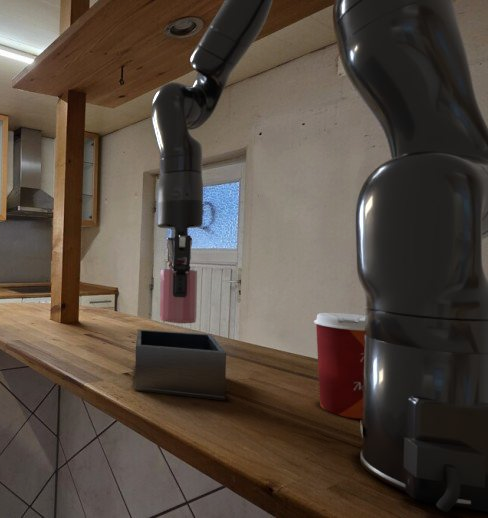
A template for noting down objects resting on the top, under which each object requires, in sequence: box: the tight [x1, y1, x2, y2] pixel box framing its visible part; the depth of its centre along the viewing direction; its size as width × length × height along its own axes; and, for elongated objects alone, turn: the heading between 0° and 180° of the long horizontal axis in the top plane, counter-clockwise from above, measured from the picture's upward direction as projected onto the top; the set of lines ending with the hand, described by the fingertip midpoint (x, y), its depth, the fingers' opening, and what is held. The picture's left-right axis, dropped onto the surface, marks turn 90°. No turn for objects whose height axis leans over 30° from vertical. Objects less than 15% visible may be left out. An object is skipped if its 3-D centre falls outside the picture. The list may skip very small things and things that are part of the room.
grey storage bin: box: [134, 329, 227, 402], centre depth 67 cm, size 14×14×8 cm
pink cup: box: [159, 268, 198, 324], centre depth 67 cm, size 6×6×9 cm
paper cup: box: [313, 312, 365, 420], centre depth 55 cm, size 8×8×14 cm
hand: (178, 294), depth 67 cm, fingers closed on pink cup, 6 cm apart
